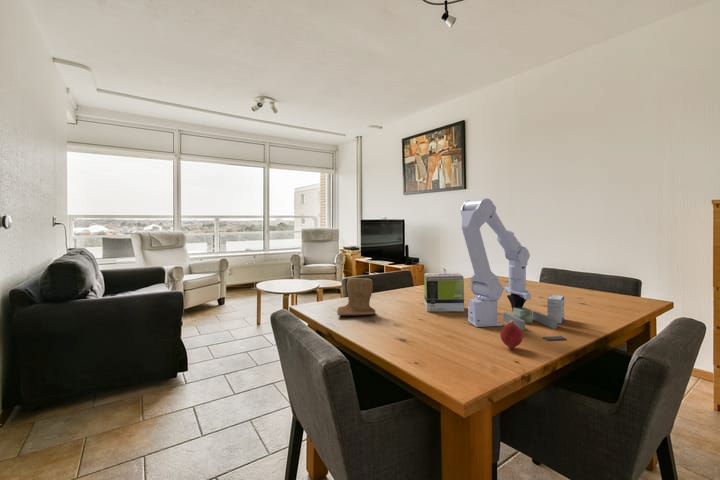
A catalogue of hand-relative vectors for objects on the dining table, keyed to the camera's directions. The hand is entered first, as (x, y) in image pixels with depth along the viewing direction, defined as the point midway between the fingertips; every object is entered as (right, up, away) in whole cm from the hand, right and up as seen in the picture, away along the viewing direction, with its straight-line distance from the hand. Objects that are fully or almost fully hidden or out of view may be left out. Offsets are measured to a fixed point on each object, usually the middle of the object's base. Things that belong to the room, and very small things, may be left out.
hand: (516, 314), depth 127 cm
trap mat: (+1, -3, -23) cm, 23 cm away
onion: (-15, -3, -30) cm, 34 cm away
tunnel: (+1, -2, -8) cm, 8 cm away
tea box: (-24, -1, +15) cm, 28 cm away
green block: (0, -2, -4) cm, 4 cm away
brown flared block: (-60, -2, +9) cm, 61 cm away
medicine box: (+12, -2, -4) cm, 13 cm away
